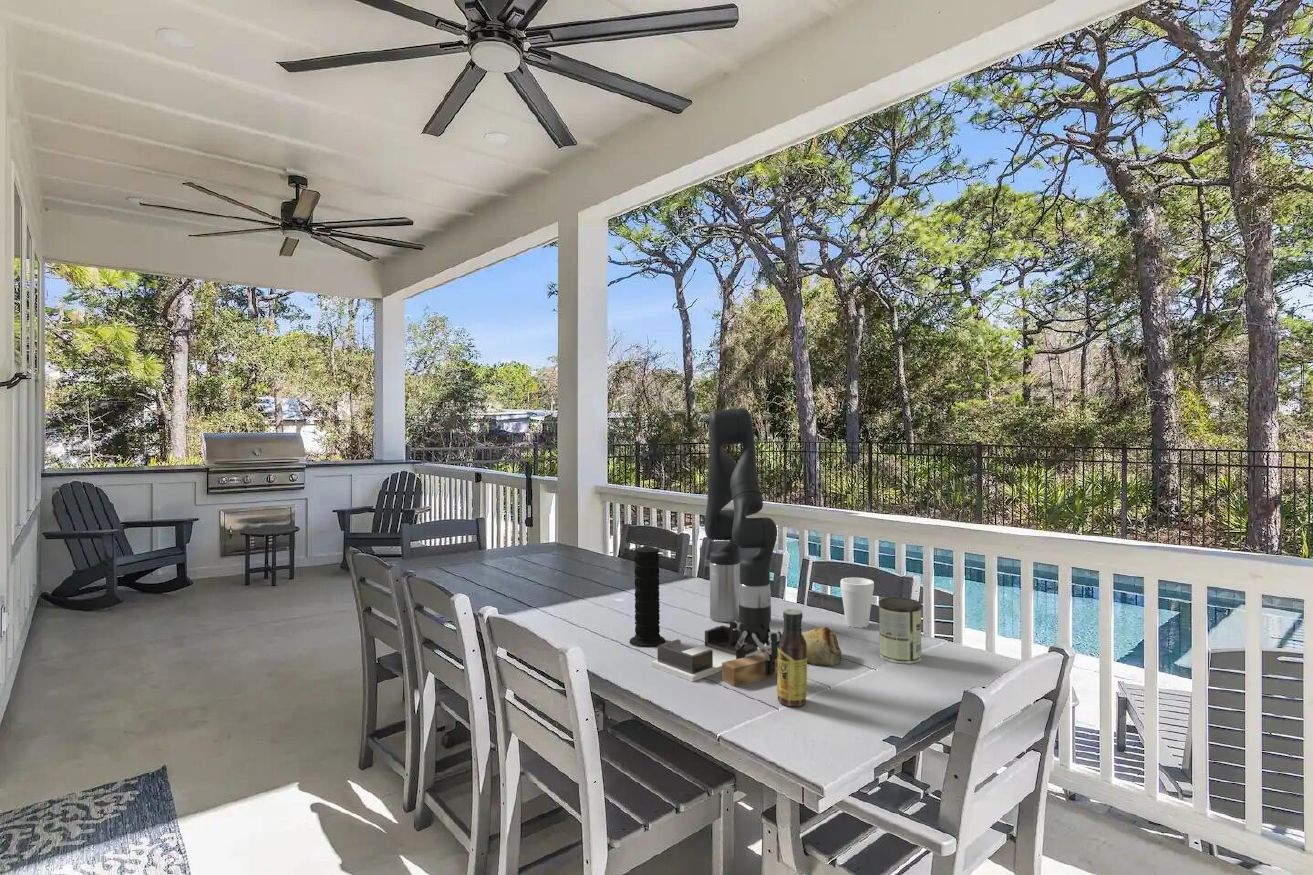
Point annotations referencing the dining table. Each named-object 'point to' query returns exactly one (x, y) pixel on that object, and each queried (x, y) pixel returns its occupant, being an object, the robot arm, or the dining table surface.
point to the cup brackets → (701, 661)
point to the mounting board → (717, 667)
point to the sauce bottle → (792, 661)
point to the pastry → (822, 647)
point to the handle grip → (647, 598)
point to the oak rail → (745, 670)
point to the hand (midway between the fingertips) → (755, 670)
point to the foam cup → (857, 600)
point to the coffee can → (900, 630)
